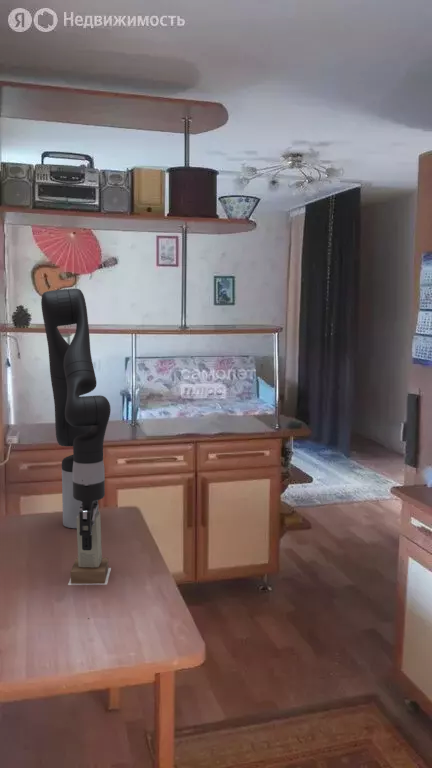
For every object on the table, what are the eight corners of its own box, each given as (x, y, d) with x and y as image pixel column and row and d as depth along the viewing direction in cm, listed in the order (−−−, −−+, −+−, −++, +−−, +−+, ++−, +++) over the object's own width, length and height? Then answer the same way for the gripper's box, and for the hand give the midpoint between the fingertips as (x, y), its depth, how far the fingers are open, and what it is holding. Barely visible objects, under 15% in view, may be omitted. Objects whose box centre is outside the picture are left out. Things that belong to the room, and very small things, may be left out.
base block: (76, 569, 166) (76, 557, 165) (108, 569, 166) (108, 557, 166) (70, 583, 158) (70, 571, 158) (104, 583, 158) (104, 571, 158)
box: (102, 561, 164) (101, 511, 162) (98, 568, 159) (97, 517, 158) (81, 560, 164) (80, 510, 162) (76, 567, 160) (75, 516, 158)
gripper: (77, 470, 165) (78, 532, 168) (67, 487, 151) (69, 554, 154) (107, 470, 166) (108, 531, 168) (100, 487, 152) (101, 554, 154)
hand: (89, 542), depth 161 cm, fingers open, 8 cm apart
